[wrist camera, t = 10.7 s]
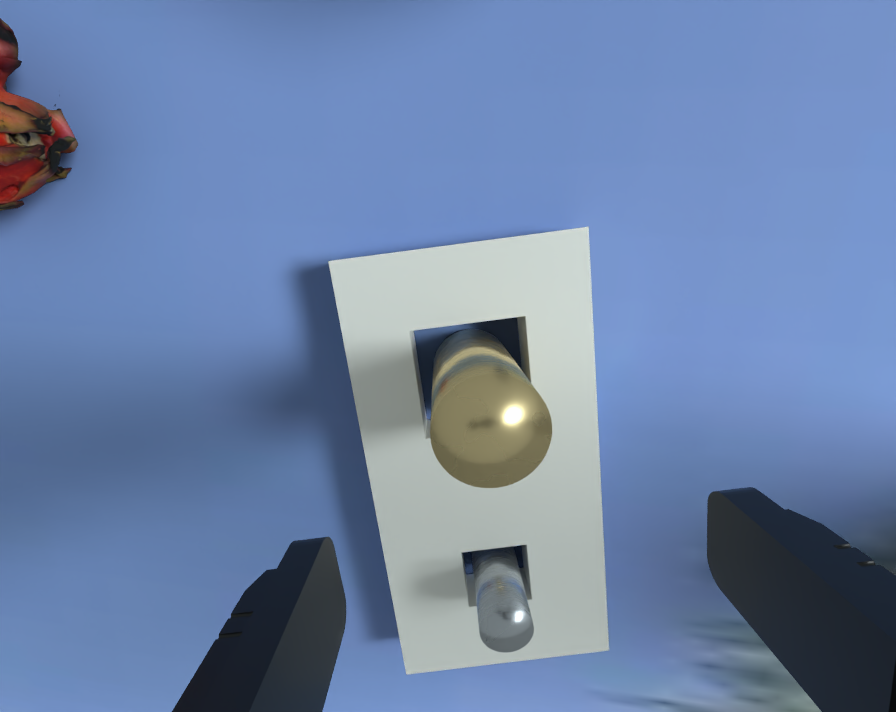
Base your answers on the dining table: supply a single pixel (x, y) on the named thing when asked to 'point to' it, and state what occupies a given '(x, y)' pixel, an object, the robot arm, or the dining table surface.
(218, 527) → the dining table surface
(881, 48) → the dining table surface
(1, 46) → the dragon fruit
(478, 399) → the cylinder
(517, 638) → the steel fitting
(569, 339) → the plate
